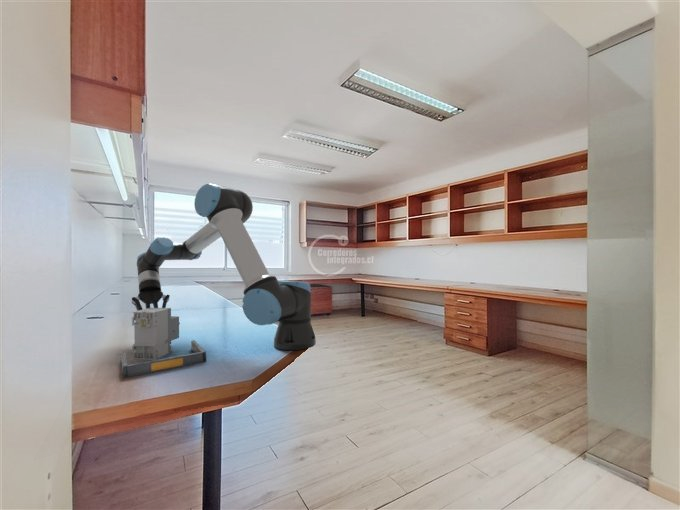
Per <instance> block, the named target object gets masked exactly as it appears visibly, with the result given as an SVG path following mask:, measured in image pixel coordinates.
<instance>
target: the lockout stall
mask: <svg viewBox="0 0 680 510" xmlns="http://www.w3.org/2000/svg"><path fill="white" fill-rule="evenodd" d="M190 342H191V343H190V346H191V347H190V349H191V351H192V352H193V353H187V354H183V355H182V354H181V355H176V356H170V357H165V358H158V359H156V360H148V361H144V362H137V363H131V364H128V361H127V354H126V351H124V350H123V351H121V352H120V363H121V373H123V374H122V379H125V378H130V377H137V376H141V375H142V376H143V375H147V374H151V373H157V372H161V371H166V370H171V369H177V368H181V367H186V366H191V365H197V364H202V363H205V362H207V351H206V350H205V349H204V348H203V347H202V346H201V345H200V344H199V343H198V342H197V341H196V340H191V341H190Z"/></svg>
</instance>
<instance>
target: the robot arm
mask: <svg viewBox="0 0 680 510" xmlns="http://www.w3.org/2000/svg"><path fill="white" fill-rule="evenodd" d="M193 204H194V210H195V212H196V214H197V215H198V216H200V217H202V218H207V221H208V223H206V224H205V225H204V226H202V227H201V228H200V229H199V230H198V231H196V232H195V233H194V234H193V235H191V236H190V237H189V238H187V239H186V240H184V241H183V242H173V240H172V239H170V238H169V237H166V236H157V237H155V239H154V240H153V241H152V242H151V243H150V246H148V249H147V250H146V251H145V252H142V253H141V254H139V255H138V256H137V257H136V258H137V259H136V268H137V269H136V270H137V278H138V281H137V282H138V294H137V296H136V297H135V296H133V297H131V304H132V305H134V307H135V309H136V311H139V310H143V307H142V305H141V302H142V303H143V304H144V305H145V309H147V308H151V305H152V306H153V308H159V302H160V300H162V306H161V308H167V303H168V302H169V301H170V294H164V292H163V291H162V287H161V286H162V285H161V279H160V271H159V270H160V268H161V266H162V265H163V264H164V262H165V261H185V260H186V261H193V260H198V259H199V258H201V255H202V252H203V250H205V249H206V248H207V247H209V246H210V245H212V244H213V243H214V242H216V241H217V240H219V239H220V238H221V239H222V241H223V244H224V245H225V247H226V248H227V251H228V254H229V255H230V257H231V259H232V261H233V264H234V266H235V268H236V269H237V272H238V274H239V275H240V278H241V280H242V282H243V284H244V289H243V291H242V293H243V295H244V296H243V298H242V303H243V304H241V305H242V311H243V313H244V315H245V317H246V318H247V319H248V321H250V322H251V323H252V324H254V325H258V326H268V325H273V324H275V323H277V322H278V324H277V328H276V332H275V335H274V338H273V346H274V348H276V349H278V350H282V351H300V350H305V349H309V348H313V347H314V346H315V345H317V344H316V341H317V340H316V334H315V331H314V329H313V325H312V323H311V322H312V320H311V319H312V317H311V316H312V313H311V312H312V309H311V307H312V306H311V305H312V304H311V301H312V299H311V296H312V292H311V284H310V283H309V282H306V281H292V280H279V281H278V278H277V277H276V275H272V274H270V273H269V271H268V268H267V267H266V265H265V263H264V261H263V259H262V258H261V255H260V254H259V252H258V250H257V247H256V245H255V243H254V241H253V240H252V238H251V236H250V234H249V233H248V230H247V228H246V226H245V225H244V224H245V223H246V222H247V221H248V220H249V219H250V217H252V216H251V215H252V214H253V208H254V206H253V201H252V199H251V198H250V196H249V195H248V194H247V193H245V192H244V191H242V190H239V189H234V188H231V187H227V186H222V185H219V184H213V183H206V184H204V185H202V186H201V187H200V188H199V189H198V190H197V192H196V194H195V198H194V203H193ZM140 301H141V302H140Z"/></svg>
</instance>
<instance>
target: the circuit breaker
mask: <svg viewBox="0 0 680 510" xmlns="http://www.w3.org/2000/svg"><path fill="white" fill-rule="evenodd" d="M142 309H143V308H142ZM132 314H133V316H132V317H131V319H132V320H131V322H132V323H131V326H133V327H134V334H133V335H134V343H133V344H132V345H131V346H132V351H131V352H132V354H131V355H133V357H132V360H137V361H139V360H140V361H141V360H142V361H143V360H144V361H147V360H148V361H153V360H159V359H161V358H162V357H164V356H166V355H168V354H170V353H172V346H171V345H172V341H174V340H177V339H179V338H180V324H181V323H180V316H178V315H177V316H175V315H174V316H172V308H171V307H166V308H162V307H158V308H154V307H150V308H147V309H146V308H144V309H143V310H139V311H137V310H135V311H132Z"/></svg>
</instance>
